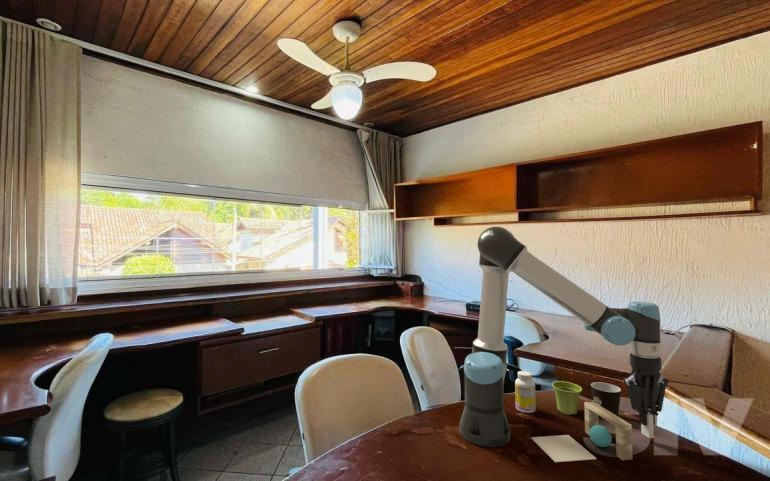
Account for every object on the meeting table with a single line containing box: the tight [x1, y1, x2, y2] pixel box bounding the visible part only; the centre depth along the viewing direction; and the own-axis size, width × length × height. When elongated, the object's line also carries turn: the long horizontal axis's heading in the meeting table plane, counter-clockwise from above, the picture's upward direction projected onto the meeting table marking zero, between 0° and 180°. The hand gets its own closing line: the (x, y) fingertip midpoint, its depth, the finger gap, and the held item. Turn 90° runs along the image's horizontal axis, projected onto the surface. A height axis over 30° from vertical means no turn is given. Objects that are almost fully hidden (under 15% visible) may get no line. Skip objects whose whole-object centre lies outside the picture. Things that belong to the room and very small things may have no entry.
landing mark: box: [530, 434, 598, 463], centre depth 98 cm, size 12×12×1 cm
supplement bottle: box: [514, 370, 536, 414], centre depth 122 cm, size 7×7×13 cm
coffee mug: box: [586, 381, 622, 422], centre depth 118 cm, size 12×9×10 cm
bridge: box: [583, 401, 634, 461], centre depth 99 cm, size 3×14×9 cm, turn 6°
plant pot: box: [551, 380, 583, 416], centre depth 120 cm, size 9×9×9 cm
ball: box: [588, 424, 613, 448], centre depth 99 cm, size 6×6×6 cm
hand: (647, 435), depth 101 cm, fingers closed
